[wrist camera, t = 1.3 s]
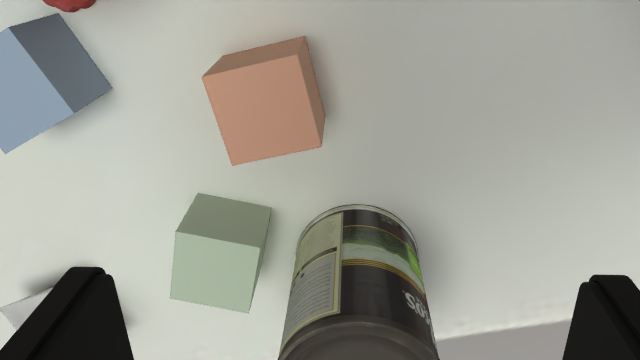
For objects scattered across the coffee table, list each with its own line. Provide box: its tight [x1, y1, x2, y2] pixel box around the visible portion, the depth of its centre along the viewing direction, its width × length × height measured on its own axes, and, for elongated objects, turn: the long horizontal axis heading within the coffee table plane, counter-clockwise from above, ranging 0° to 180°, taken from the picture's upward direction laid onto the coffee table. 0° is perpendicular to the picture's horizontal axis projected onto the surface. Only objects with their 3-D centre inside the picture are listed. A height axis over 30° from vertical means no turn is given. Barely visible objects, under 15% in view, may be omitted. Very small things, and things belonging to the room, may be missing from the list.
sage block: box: [170, 193, 271, 313], centre depth 40 cm, size 6×6×6 cm
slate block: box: [0, 13, 112, 154], centre depth 35 cm, size 6×6×6 cm
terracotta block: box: [202, 36, 325, 166], centre depth 35 cm, size 6×6×6 cm
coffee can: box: [278, 205, 440, 360], centre depth 37 cm, size 10×10×14 cm
